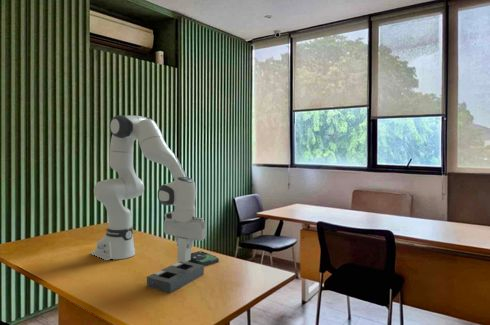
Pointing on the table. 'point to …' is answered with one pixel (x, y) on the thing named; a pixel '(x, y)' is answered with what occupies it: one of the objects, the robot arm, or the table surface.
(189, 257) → the plug
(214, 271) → the table surface
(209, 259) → the disk drive
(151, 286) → the panel
